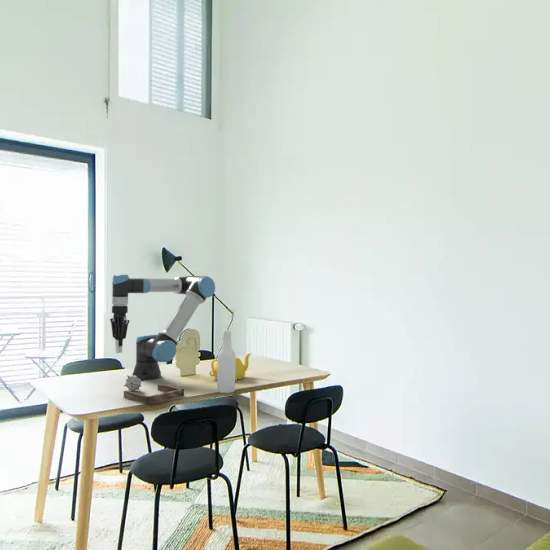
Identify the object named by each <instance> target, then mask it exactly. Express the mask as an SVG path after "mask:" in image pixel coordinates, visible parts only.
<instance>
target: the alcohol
mask: <svg viewBox="0 0 550 550" xmlns="http://www.w3.org/2000/svg"><path fill="white" fill-rule="evenodd" d="M221 344H222V346H221V349H220V350H219V352H218V354H217V359H218V365H217V379H216V391H217V392H218V393H220V394H233V393H234V392H235V391H236V381H235V363H236V357H237V355H236V353H235V351H234V350H233V347H232V330H231V329H223V330H222V343H221Z"/></svg>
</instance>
